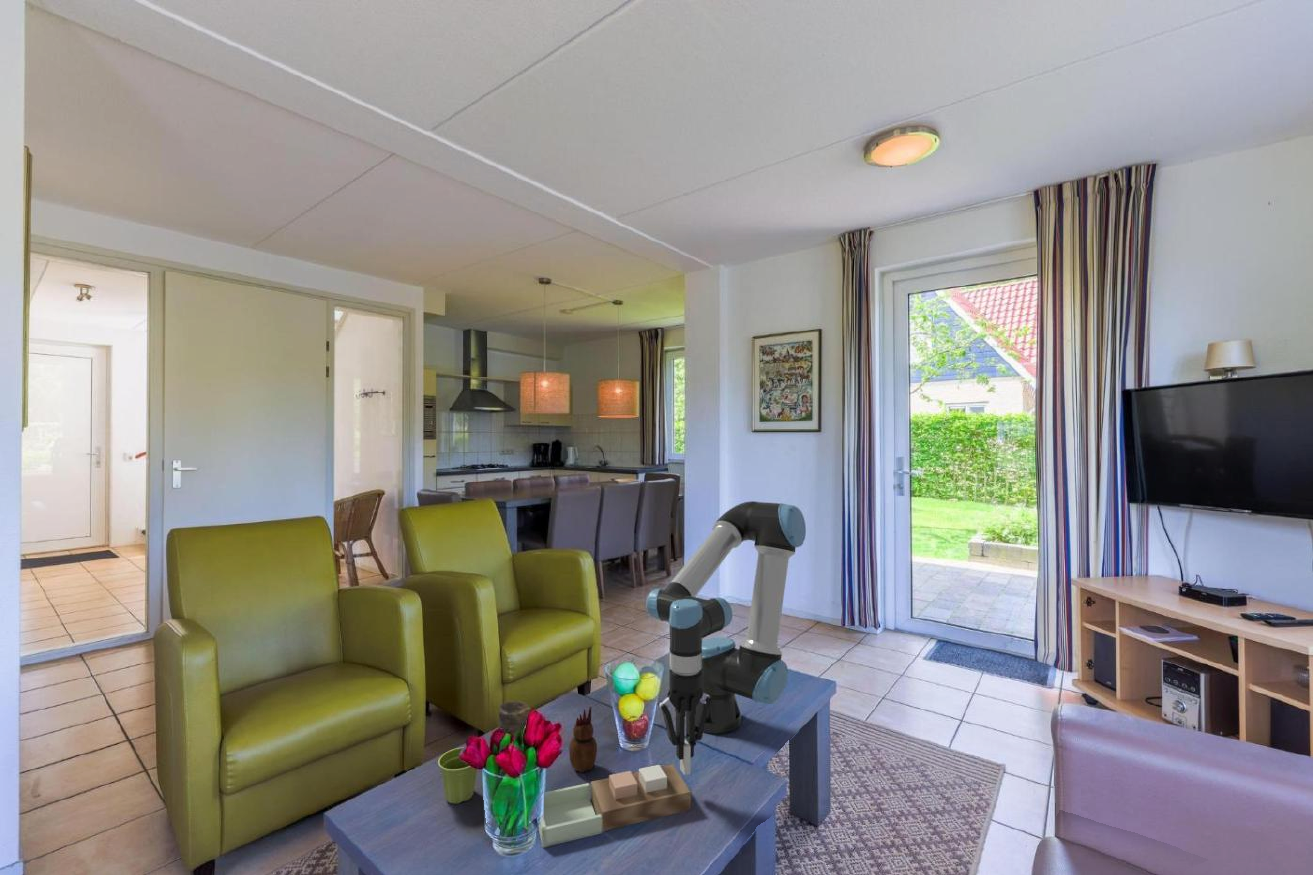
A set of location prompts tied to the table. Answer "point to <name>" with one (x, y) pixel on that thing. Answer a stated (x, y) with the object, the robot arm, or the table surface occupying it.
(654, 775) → the tile
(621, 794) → the tile
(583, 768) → the wooden figurine
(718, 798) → the table surface
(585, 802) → the tray
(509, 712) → the candle
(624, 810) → the brown box sleeve
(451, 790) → the plant pot
